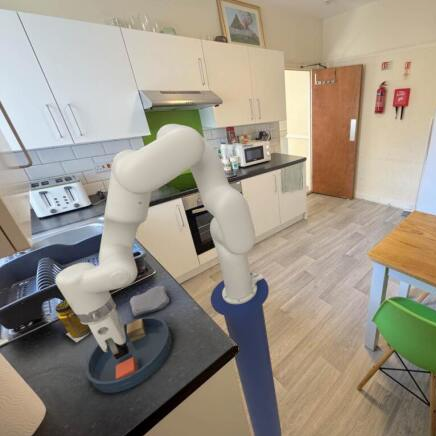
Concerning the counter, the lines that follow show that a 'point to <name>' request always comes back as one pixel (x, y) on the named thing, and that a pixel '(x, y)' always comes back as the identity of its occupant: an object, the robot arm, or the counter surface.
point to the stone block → (149, 301)
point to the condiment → (72, 322)
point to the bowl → (139, 349)
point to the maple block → (136, 330)
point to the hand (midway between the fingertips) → (122, 354)
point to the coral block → (126, 368)
